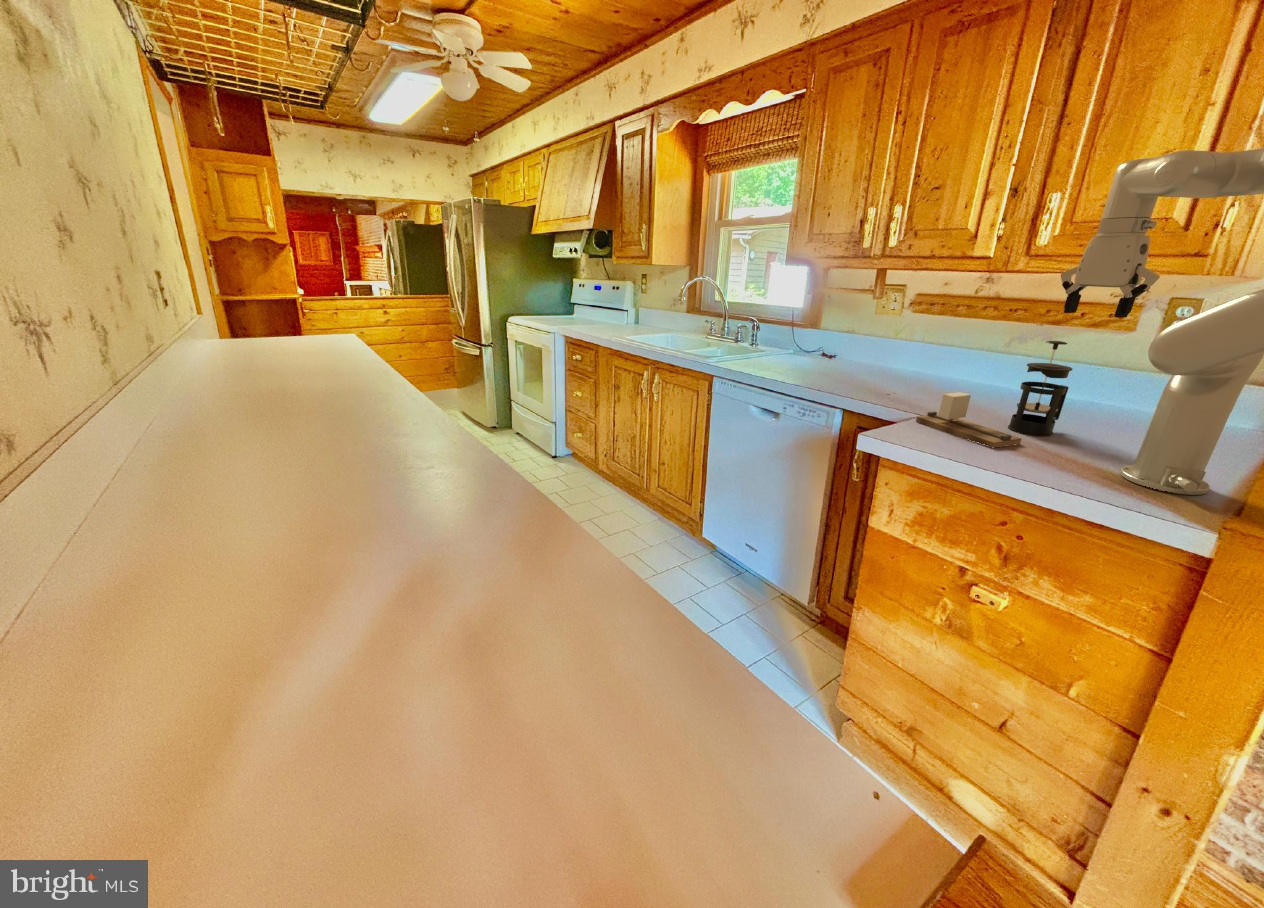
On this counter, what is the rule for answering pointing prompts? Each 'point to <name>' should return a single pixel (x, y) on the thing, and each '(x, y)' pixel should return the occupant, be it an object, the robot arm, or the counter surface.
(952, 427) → the fader board
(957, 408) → the fader cap
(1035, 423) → the french press
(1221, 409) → the robot arm
